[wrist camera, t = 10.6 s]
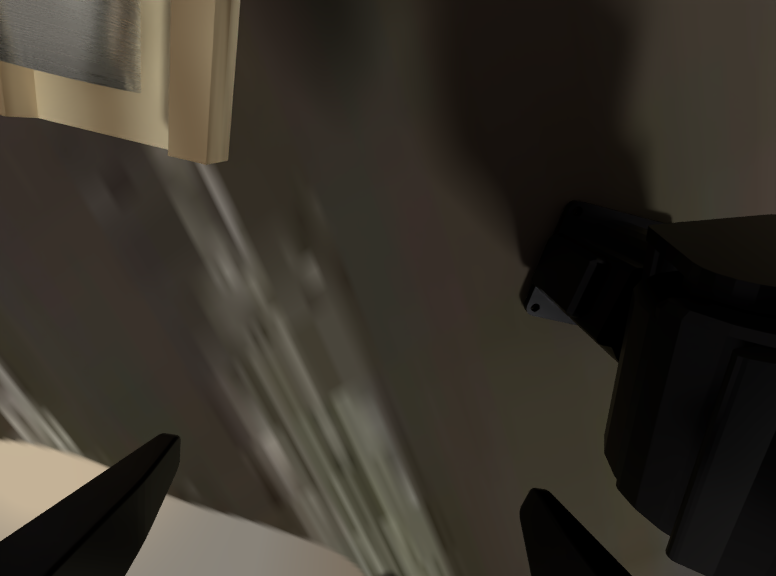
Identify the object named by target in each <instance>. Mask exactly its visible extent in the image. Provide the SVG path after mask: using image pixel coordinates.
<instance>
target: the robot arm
mask: <svg viewBox="0 0 776 576" xmlns="http://www.w3.org/2000/svg"><path fill="white" fill-rule="evenodd" d="M576 207H578V208H579V210H578V212H577V214H575V215H573V210H574V208H576ZM532 281H533V284H532V286H531V289H530V291H529V293H528V296H527V298H526V300H525V303H524V309H525V310H526V311H527V312H528V314H530V315H532V316H537V317H541V318H546V319H551V320H555V321H560V322H565V323H569V324H574V325H578V326H579V327H580V328H581V329H582V330H583V331H584V332H586V333H587V334H588V335H589V336H590V337H591V338H592V339H593V340H594V341H595V342H596V343H597V344H598V345H600V346H601V347H602V348H603V349H604V350H605V351H606V352H607V353H608V354H609V355H610V356H611V357H612V358H614V359H615V360H616V361H617V362H618V368H617V373H616V379H615V384H614V389H613V394H612V399H611V404H610V409H609V414H608V419H607V424H606V429H605V434H604V453H605V456H606V458H607V460H608V463H609V465H610V467H611V469H612V472H613V474H614V476H615V477H616V479H617V481H616V486H617V489H618V490H619V491H620V492H621V494H622V495H623V496H624V497H625V498H626V499H627V501H628V502H629V503H630V504H631V505H632V506H633V507H634V508H635V509H636V510H637V511H638V512H639V513H641V514H642V515H643V516H644V517H645V518H647V519H648V520H649V521H650V522H651V523H652V524H654V525H655V526H656V527H657V528H659V529H660V530H661V531H663V532H664V533H666V534H667V535H669V536H670V539H669V542H668V545H667V548H666V555H667V556H668V557H669V558H670V559H671V560H672V561H674V562H676V563H678V564H680V565H683V566H685V567H687V568H690V569H692V570H694V571H696V572H699V573H701V574H703V575H705V576H776V215H773V214H770V215H757V216H746V217H735V218H723V219H712V220H700V221H689V222H677V223H666V224H665V223H662V222H658V221H654V220H650V219H646V218H642V217H639V216H635V215H631V214H627V213H623V212H620V211H616V210H612V209H608V208H604V207H600V206H597V205H593V204H589V203H585V202H581V201H576V200H574V201H571V202H569V203H568V204H567V205H566V207H565V209H564V211H563V213H562V216H561V218H560V220H559V223H558V225H557V227H556V230H555V232H554V234H553V236H552V237H551V238H549V240H548V242H547V245H546V247H545V249H544V252H543V254H542V256H541V259H540V261H539V264H538V266H537V268H536V271H535V273H534V275H533V278H532ZM533 304H537V306H536V307H535V308H533V309H531V306H532V305H533ZM180 444H181V439H180V437H179V436H178V435H173V434H166V433H162V434H160V435H158V436H156V437H155V438H153V439H152V440H150V441H149V442H147V443H146V444H144V445H143V446H141V447H140V448H138V449H137V450H135V451H134V452H132V453H131V454H129V455H128V456H127V457H125V458H124V459H122V460H121V461H119V462H118V463H116V464H115V465H113V466H112V467H110V468H109V469H107V470H106V471H104V472H103V473H101V474H100V475H98V476H97V477H95V478H94V479H92V480H91V481H89V482H88V483H86V484H85V485H84V486H82V487H80V488H79V489H78V490H76V491H75V492H73V493H72V494H70V495H69V496H67V497H66V498H64V499H63V500H61V501H60V502H58V503H57V504H55V505H54V506H52V507H51V508H49V509H48V510H46V511H45V512H44V513H42V514H40V515H39V516H37V517H36V518H35V519H33V520H31V521H30V522H29V523H27V524H26V525H24V526H23V527H21V528H20V529H18V530H17V531H15V532H14V533H12V534H11V535H9V536H8V537H6V538H5V539H3V540H2V541H0V576H125V575H126V573H127V571H128V570H129V568H130V566H131V564H132V563H133V561H134V559H135V558H136V556H137V554H138V552H139V551H140V548H141V547H142V545H143V543H144V541H145V539H146V537H147V535H148V533H149V531H150V529H151V527H152V525H153V522H154V520H155V518H156V516H157V514H158V511H159V509H160V507H161V505H162V503H163V500H164V498H165V496H166V494H167V492H168V489H169V487H170V485H171V483H172V481H173V478H174V476H175V474H176V472H177V469H178V466H179V462H180ZM520 522H521V527H522V532H523V537H524V542H525V547H526V552H527V557H528V562H529V568H530V573H531V576H632V575H631V574H630V573H629V572H628V571H627V570H626V569H625V568H624V567H623V566H622V565H621V564H620V563H619V562H618V561H617V560H616V559H615V558H614V557H613V556H612V555H611V554H610V553H609V552H608V551H607V550H606V549H605V548H604V547H603V546H602V545H601V544H600V543H599V542H598V541H597V540H596V539H595V538H594V537H593V536H592V535H591V533H590V532H589V531H588V530H587V529H586V528H585V527H584V526H583V525H582V524H581V523H580V522H579V521H578V520H577V519H576V518H575V517H574V516H573V515H572V514H571V513H570V512H569V511H568V510H567V509H566V508H565V507H564V506H563V505H562V504H561V503H560V502H559V501H558V500H557V499H556V498H555V497H554V496H553V495H552V494H551V493H550V492H549V491H548V490H545V489H539V488H532V489H531V490H530V491H529V493H528V495H527V497H526V498H525V500H524V502H523V504H522V506H521V508H520Z"/></svg>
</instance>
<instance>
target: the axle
mask: <svg viewBox="0 0 776 576" xmlns="http://www.w3.org/2000/svg"><path fill="white" fill-rule="evenodd" d="M0 61H4V62H7V63H11V64H14V65H18V66H22V67H26V68H29V69H33V70H37V71H41V72H45V73H49V74H53V75H58V76H62V77H66V78H70V79H74V80H79V81H83V82H87V83H92V84H96V85H101V86H105V87H110V88H114V89H119V90H124V91H129V92H135V93H141V0H0Z"/></svg>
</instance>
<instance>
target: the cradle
mask: <svg viewBox="0 0 776 576" xmlns="http://www.w3.org/2000/svg"><path fill="white" fill-rule="evenodd" d="M239 12H240V0H141V93H135V92H129V91H124V90H119V89H114V88H110V87H105V86H101V85H96V84H92V83H87V82H83V81H79V80H74V79H70V78H66V77H62V76H58V75H53V74H49V73H45V72H41V71H37V70H33V69H29V68H26V67H22V66H18V65H14V64H11V63H7V62H4V61H0V115H2V116H10V117H30V118H41V119H45V120H49V121H53V122H57V123H61V124H65V125H69V126H74V127H78V128H82V129H86V130H90V131H94V132H98V133H102V134H106V135H111V136H115V137H119V138H123V139H127V140H131V141H135V142H139V143H143V144H148V145H152V146H156V147H160V148H164V149H168V156H172V157H177V158H181V159H185V160H189V161H193V162H197V163H201V164H206V165H207V164H212V163H218V162H223V161H228V153H229V141H230V128H231V115H232V102H233V89H234V76H235V63H236V51H237V38H238V25H239Z"/></svg>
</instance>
